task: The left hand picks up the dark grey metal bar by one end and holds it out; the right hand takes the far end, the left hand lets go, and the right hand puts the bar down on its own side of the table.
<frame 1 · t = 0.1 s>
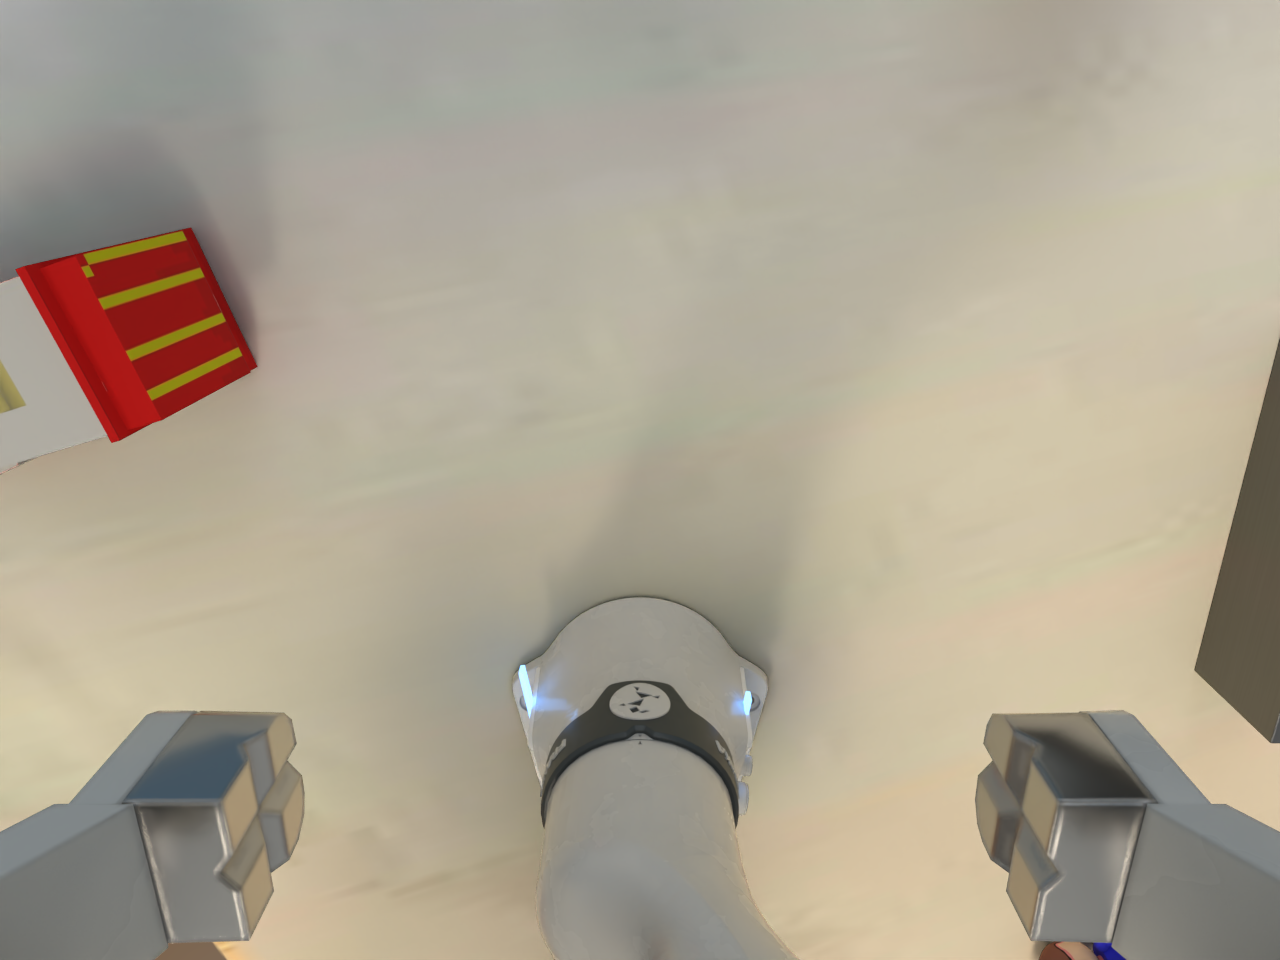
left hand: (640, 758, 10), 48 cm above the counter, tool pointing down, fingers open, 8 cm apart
toy: (38, 364, 58), on the counter
bar: (1274, 505, 61), on the counter
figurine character: (1118, 931, 75), on the counter
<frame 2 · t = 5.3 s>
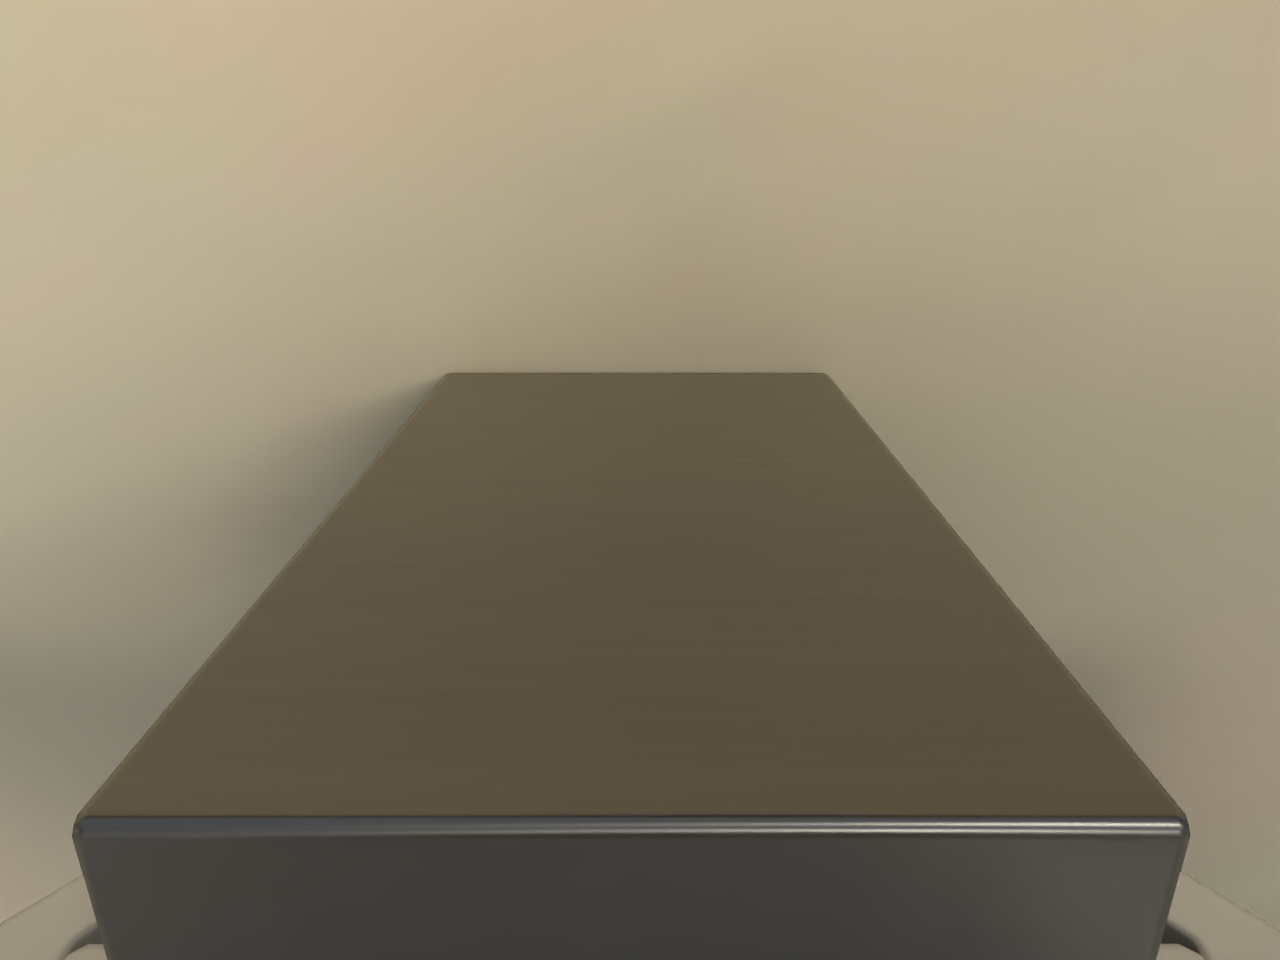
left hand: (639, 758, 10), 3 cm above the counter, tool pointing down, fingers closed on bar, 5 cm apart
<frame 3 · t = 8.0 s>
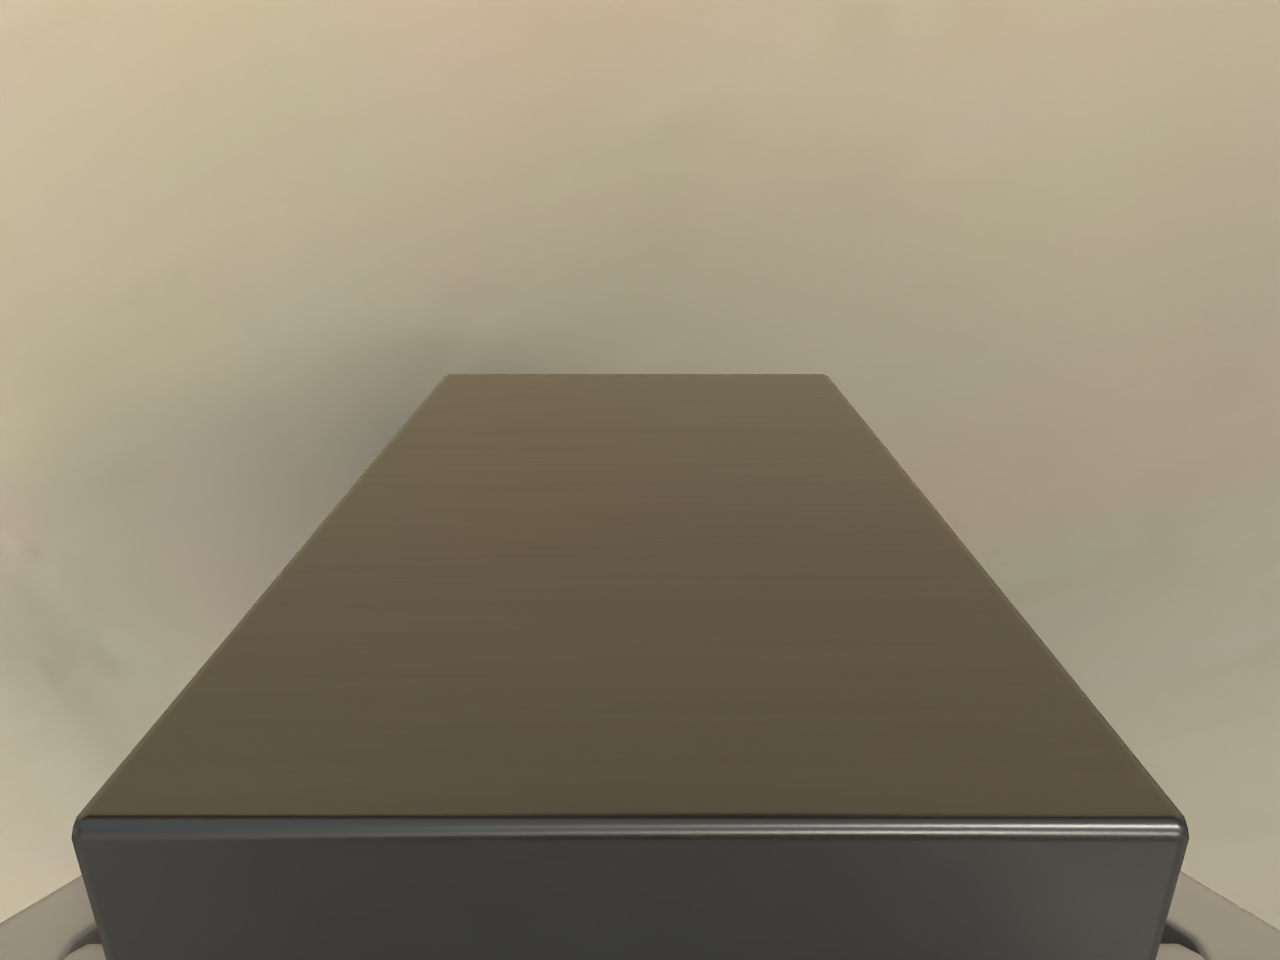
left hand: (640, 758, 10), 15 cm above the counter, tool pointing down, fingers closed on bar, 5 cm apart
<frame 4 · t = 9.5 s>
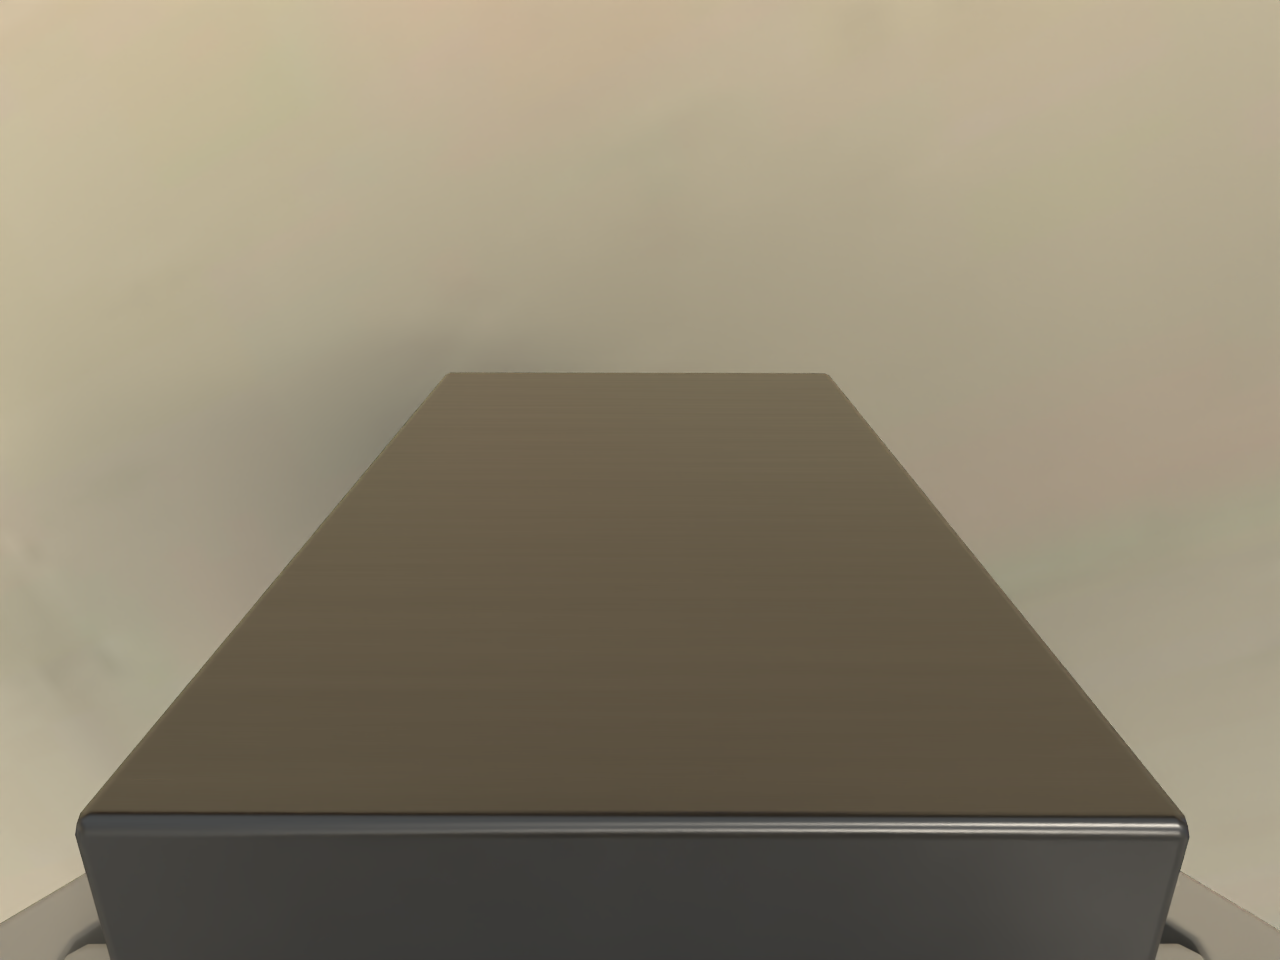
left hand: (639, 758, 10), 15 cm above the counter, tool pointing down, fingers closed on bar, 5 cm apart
when the left hand's fingers open (15 cm above the counter, at t = 10.7 s): bar moves 1 cm, held by the right hand.
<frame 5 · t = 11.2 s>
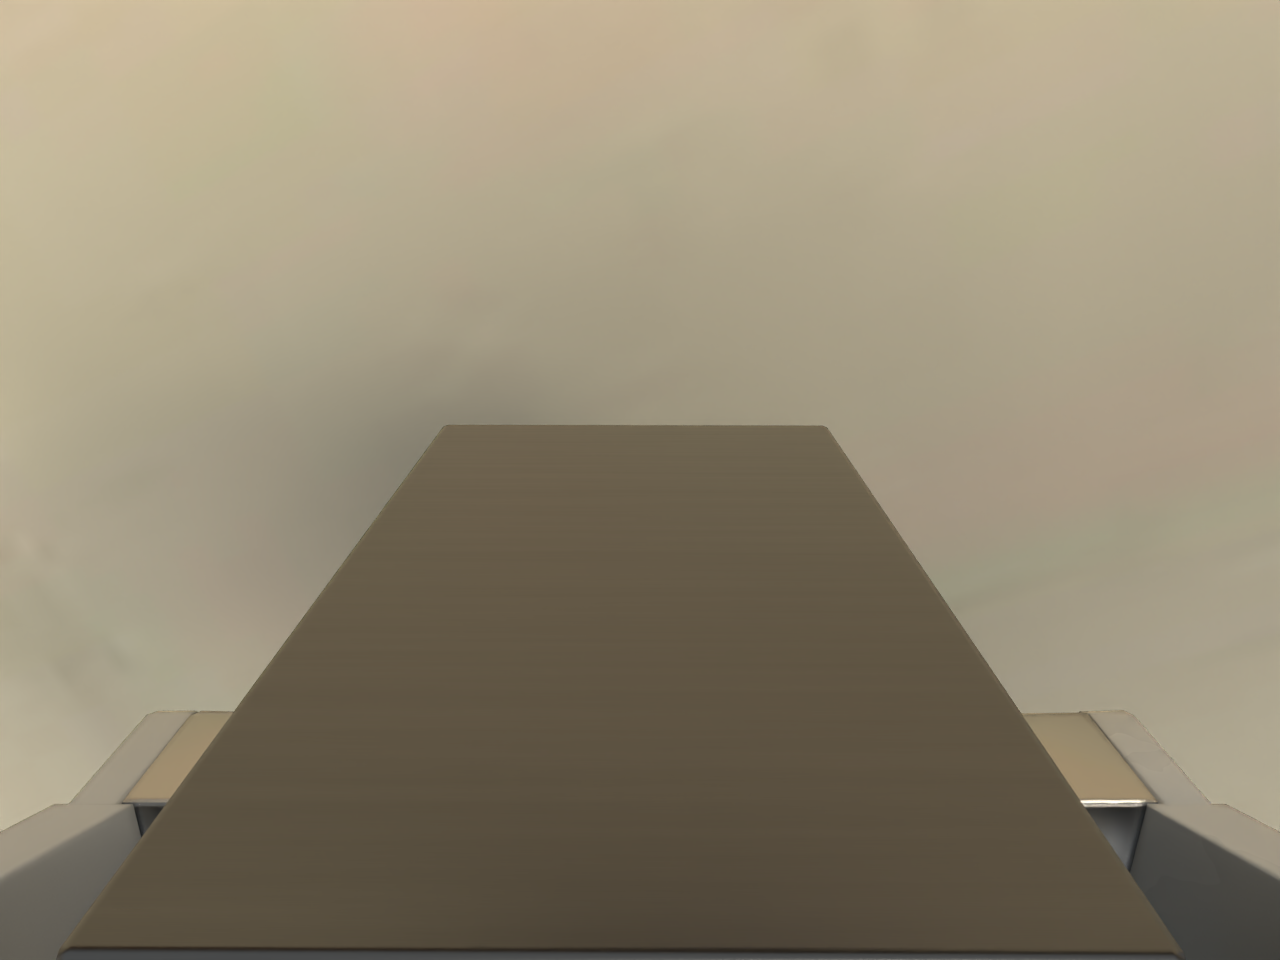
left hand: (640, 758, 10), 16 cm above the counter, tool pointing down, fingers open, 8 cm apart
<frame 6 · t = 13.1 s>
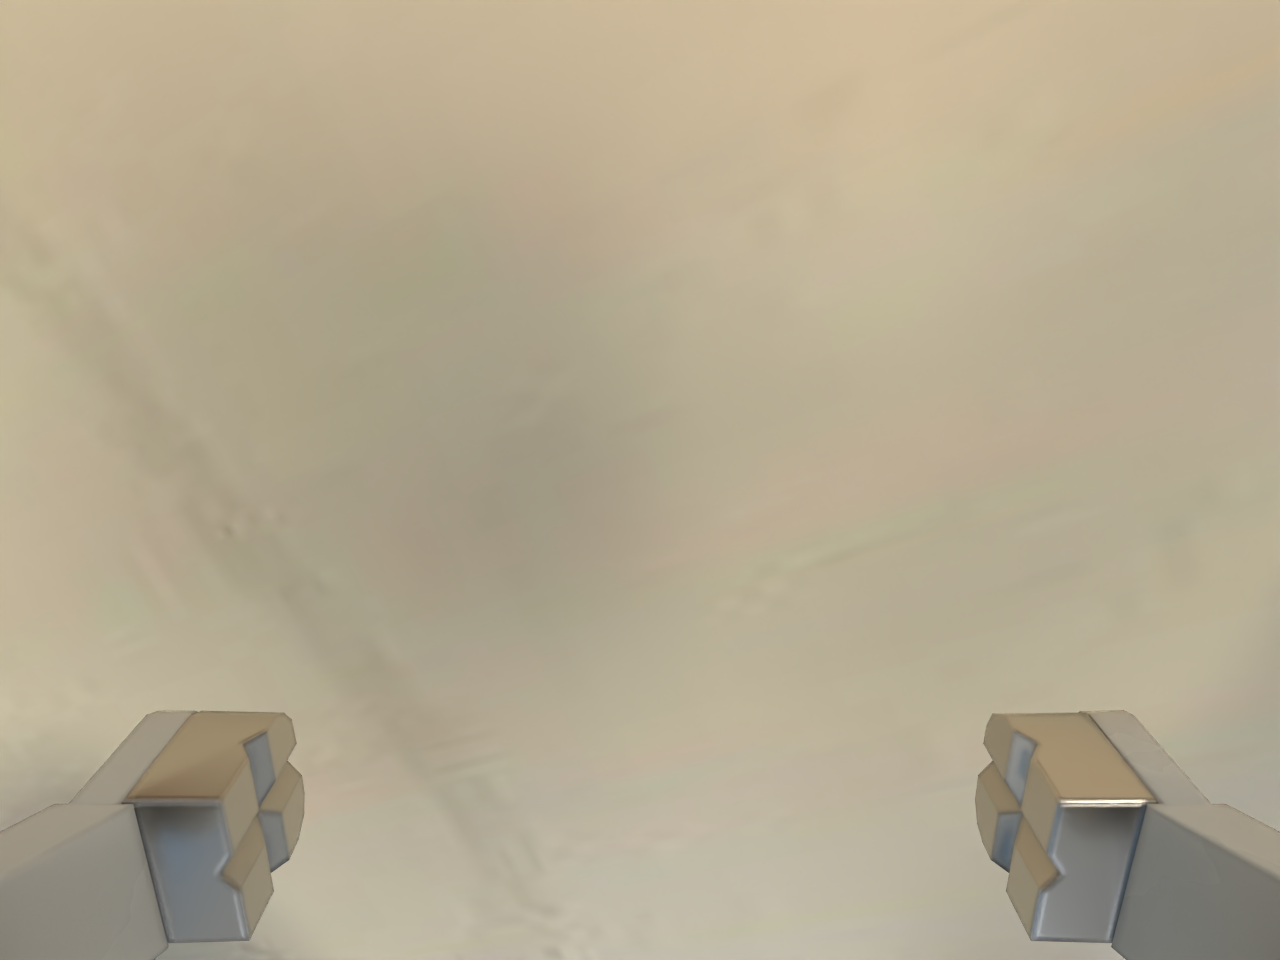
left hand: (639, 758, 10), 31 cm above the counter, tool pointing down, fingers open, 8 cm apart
when the right hand's fingers open (6 cm above the counter, at t = 16.8 s): bar drops 1 cm, on the counter.
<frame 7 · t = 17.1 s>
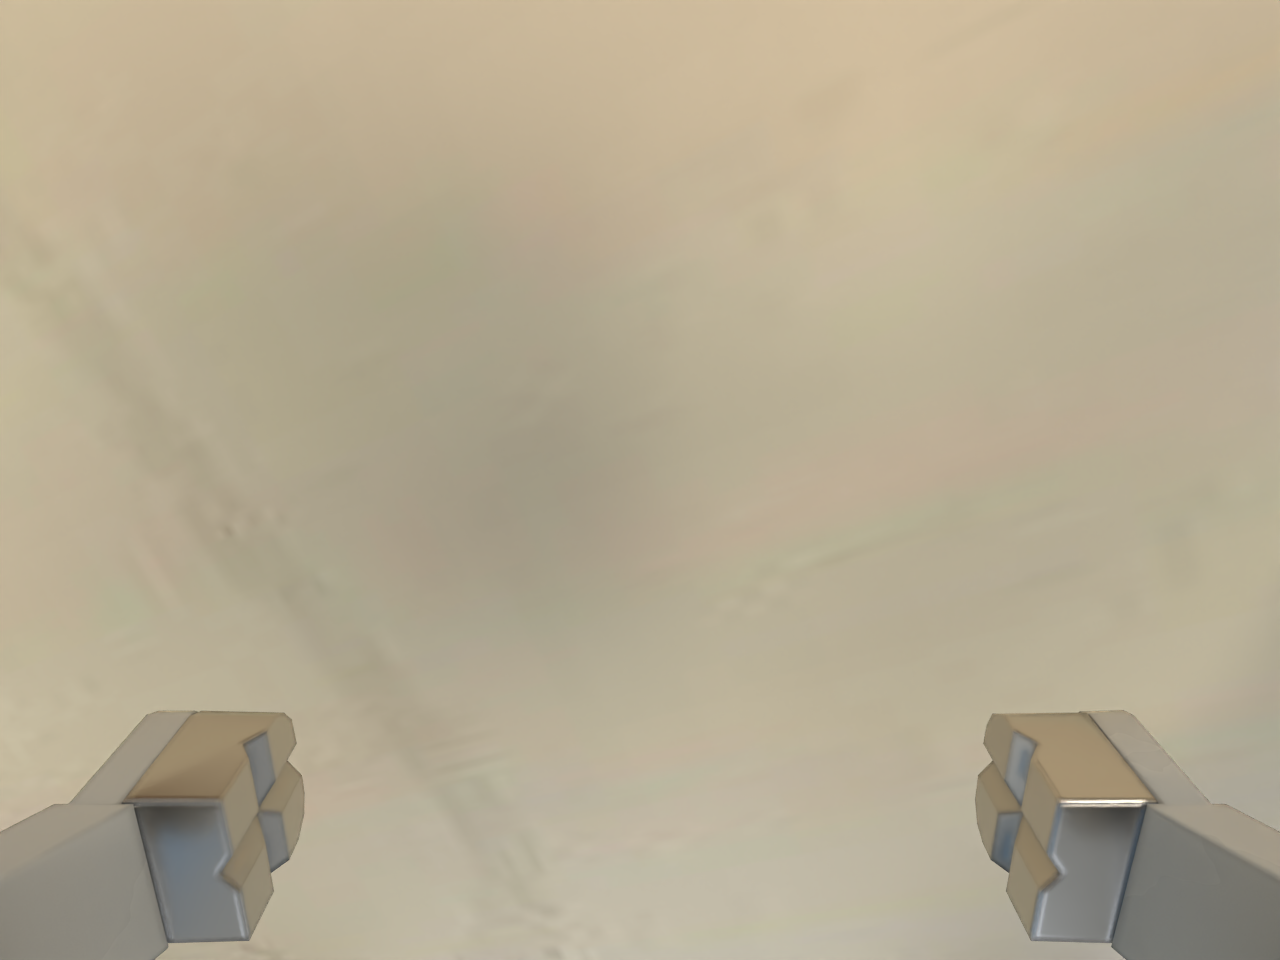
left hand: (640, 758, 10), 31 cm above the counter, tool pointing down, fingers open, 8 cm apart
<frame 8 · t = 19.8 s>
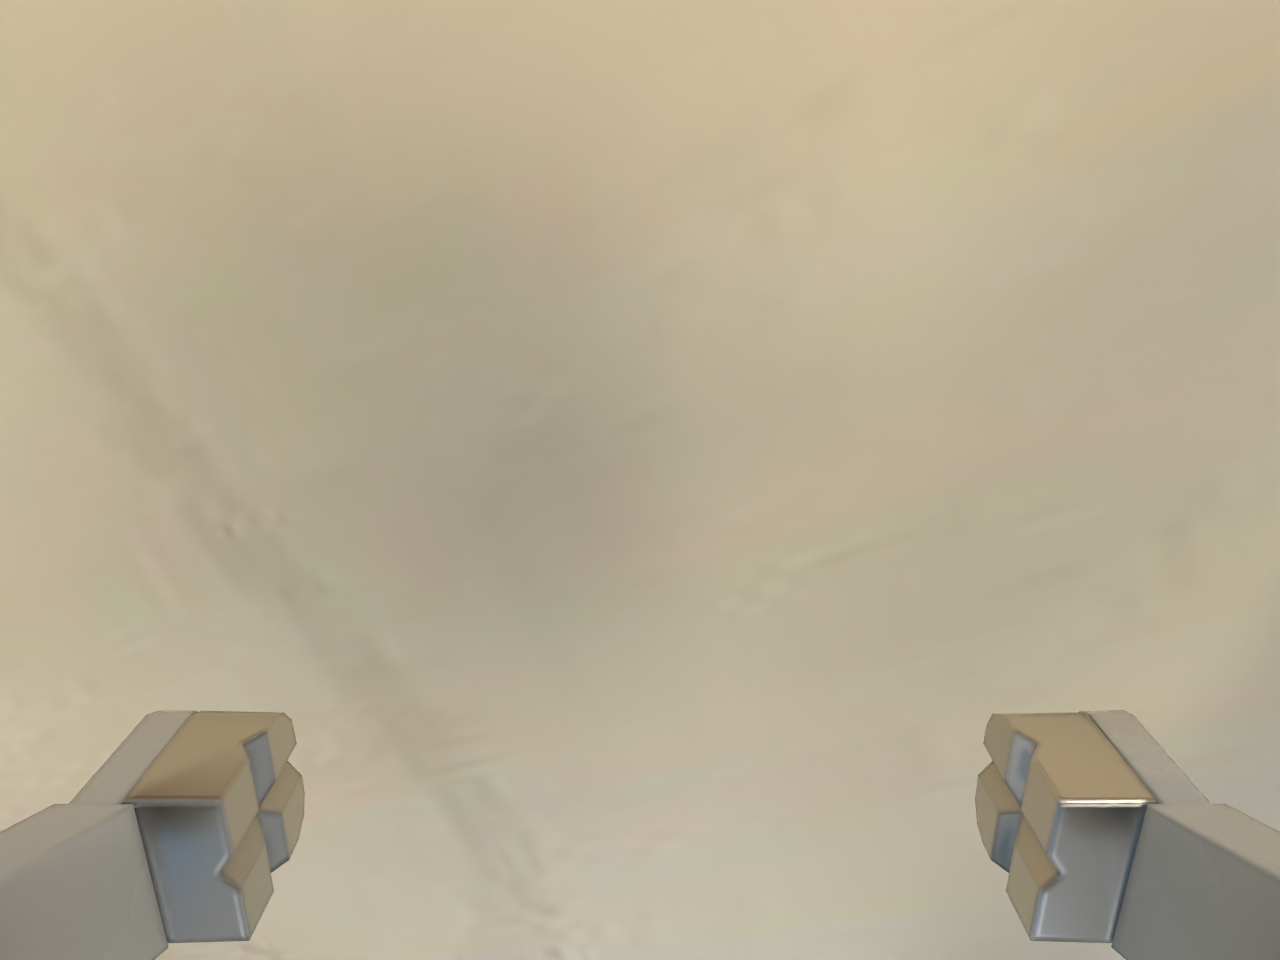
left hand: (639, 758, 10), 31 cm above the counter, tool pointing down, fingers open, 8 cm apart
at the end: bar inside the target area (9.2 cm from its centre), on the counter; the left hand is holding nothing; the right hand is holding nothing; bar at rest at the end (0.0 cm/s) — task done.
